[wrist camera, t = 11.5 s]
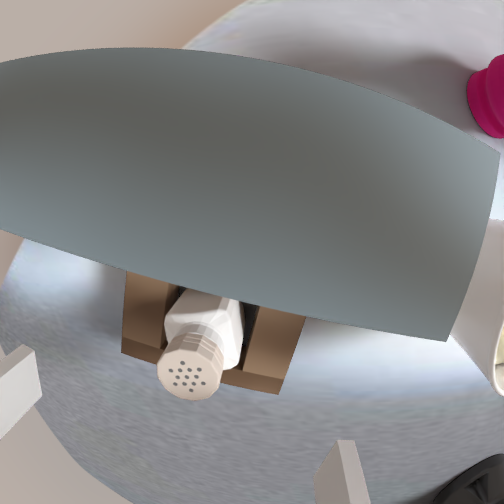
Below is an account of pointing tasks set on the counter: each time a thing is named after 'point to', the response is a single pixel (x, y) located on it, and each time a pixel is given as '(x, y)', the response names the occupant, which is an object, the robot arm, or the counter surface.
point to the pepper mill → (488, 97)
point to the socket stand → (244, 193)
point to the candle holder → (485, 309)
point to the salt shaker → (200, 343)
